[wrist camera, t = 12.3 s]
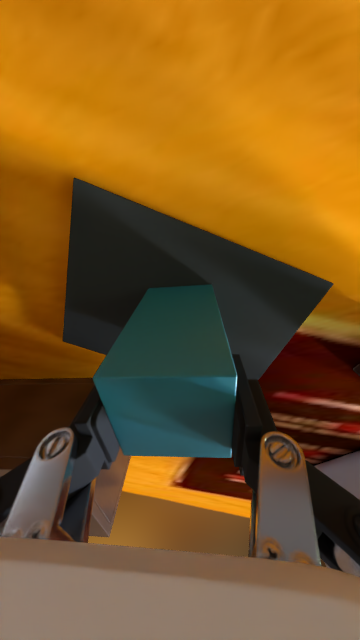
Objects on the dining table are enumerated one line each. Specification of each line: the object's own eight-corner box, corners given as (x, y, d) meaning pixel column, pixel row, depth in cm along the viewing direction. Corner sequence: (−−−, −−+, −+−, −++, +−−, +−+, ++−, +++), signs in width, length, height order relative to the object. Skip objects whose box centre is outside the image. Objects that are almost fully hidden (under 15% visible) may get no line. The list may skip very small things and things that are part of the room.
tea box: (157, 340, 18) (123, 456, 9) (148, 288, 16) (91, 378, 7) (212, 338, 18) (231, 458, 9) (212, 284, 15) (237, 375, 6)
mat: (65, 338, 19) (62, 341, 19) (77, 178, 13) (73, 177, 12) (242, 394, 21) (243, 398, 21) (330, 281, 15) (334, 283, 15)
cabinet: (36, 444, 29) (-23, 528, 21) (-14, 379, 23) (-124, 465, 15) (133, 445, 28) (109, 537, 20) (109, 377, 22) (59, 471, 14)
